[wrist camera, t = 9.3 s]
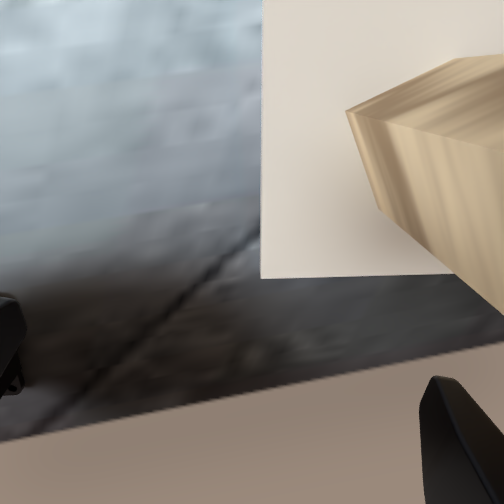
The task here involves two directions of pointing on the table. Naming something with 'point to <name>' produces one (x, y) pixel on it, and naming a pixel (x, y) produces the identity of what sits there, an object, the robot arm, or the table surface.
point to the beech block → (443, 165)
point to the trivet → (346, 124)
